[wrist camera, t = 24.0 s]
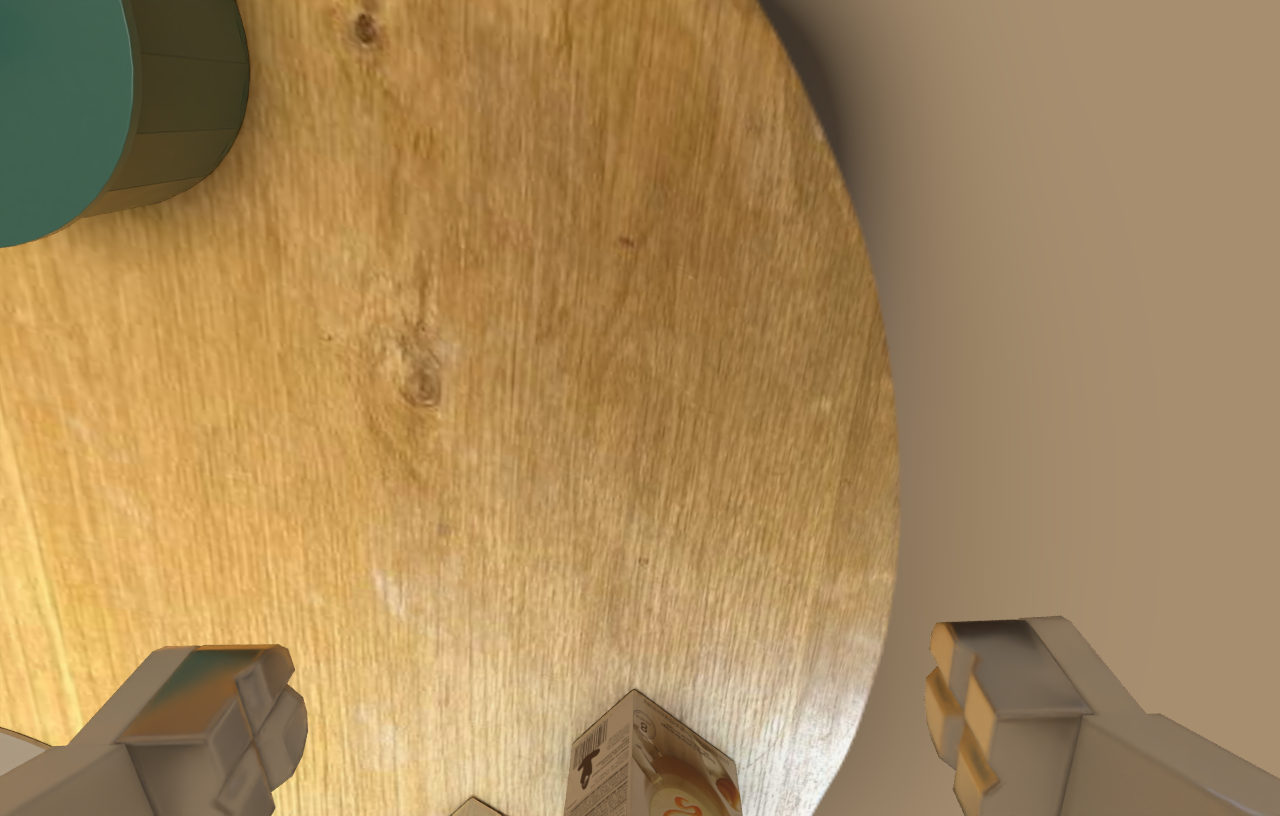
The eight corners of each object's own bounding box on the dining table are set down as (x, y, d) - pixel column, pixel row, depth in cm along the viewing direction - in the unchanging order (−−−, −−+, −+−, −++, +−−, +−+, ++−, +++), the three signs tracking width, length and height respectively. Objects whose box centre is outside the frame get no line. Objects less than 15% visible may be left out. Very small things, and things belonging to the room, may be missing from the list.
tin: (-134, -135, 30) (-411, -221, 22) (199, -162, 30) (39, -259, 22) (-4, 212, 35) (-191, 243, 27) (282, 193, 35) (176, 219, 27)
